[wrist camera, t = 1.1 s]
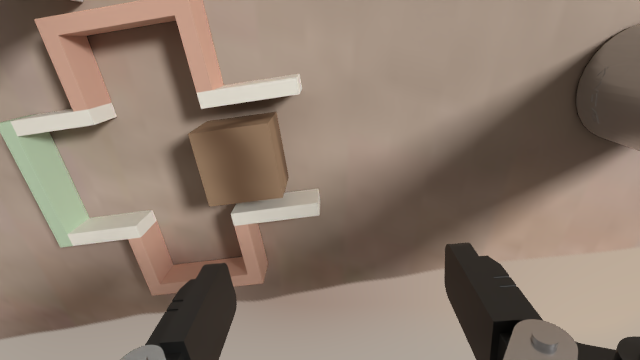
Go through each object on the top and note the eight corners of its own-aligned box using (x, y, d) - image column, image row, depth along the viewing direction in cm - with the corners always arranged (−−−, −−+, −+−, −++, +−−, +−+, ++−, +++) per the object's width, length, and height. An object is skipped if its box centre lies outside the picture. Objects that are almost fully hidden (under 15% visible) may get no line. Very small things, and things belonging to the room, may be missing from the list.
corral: (284, -17, 25) (279, -24, 22) (329, 256, 34) (329, 276, 31) (-12, 34, 26) (-51, 34, 23) (107, 282, 35) (89, 302, 33)
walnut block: (276, 111, 28) (267, 123, 24) (288, 176, 31) (282, 197, 26) (208, 120, 29) (187, 134, 25) (225, 184, 31) (209, 206, 27)
